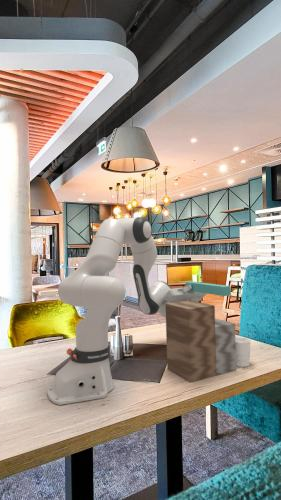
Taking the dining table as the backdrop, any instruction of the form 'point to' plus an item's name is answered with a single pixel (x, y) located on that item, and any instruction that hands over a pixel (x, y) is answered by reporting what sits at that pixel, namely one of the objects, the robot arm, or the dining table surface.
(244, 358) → the white cup
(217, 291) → the teal bar
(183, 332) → the stand
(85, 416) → the dining table surface
